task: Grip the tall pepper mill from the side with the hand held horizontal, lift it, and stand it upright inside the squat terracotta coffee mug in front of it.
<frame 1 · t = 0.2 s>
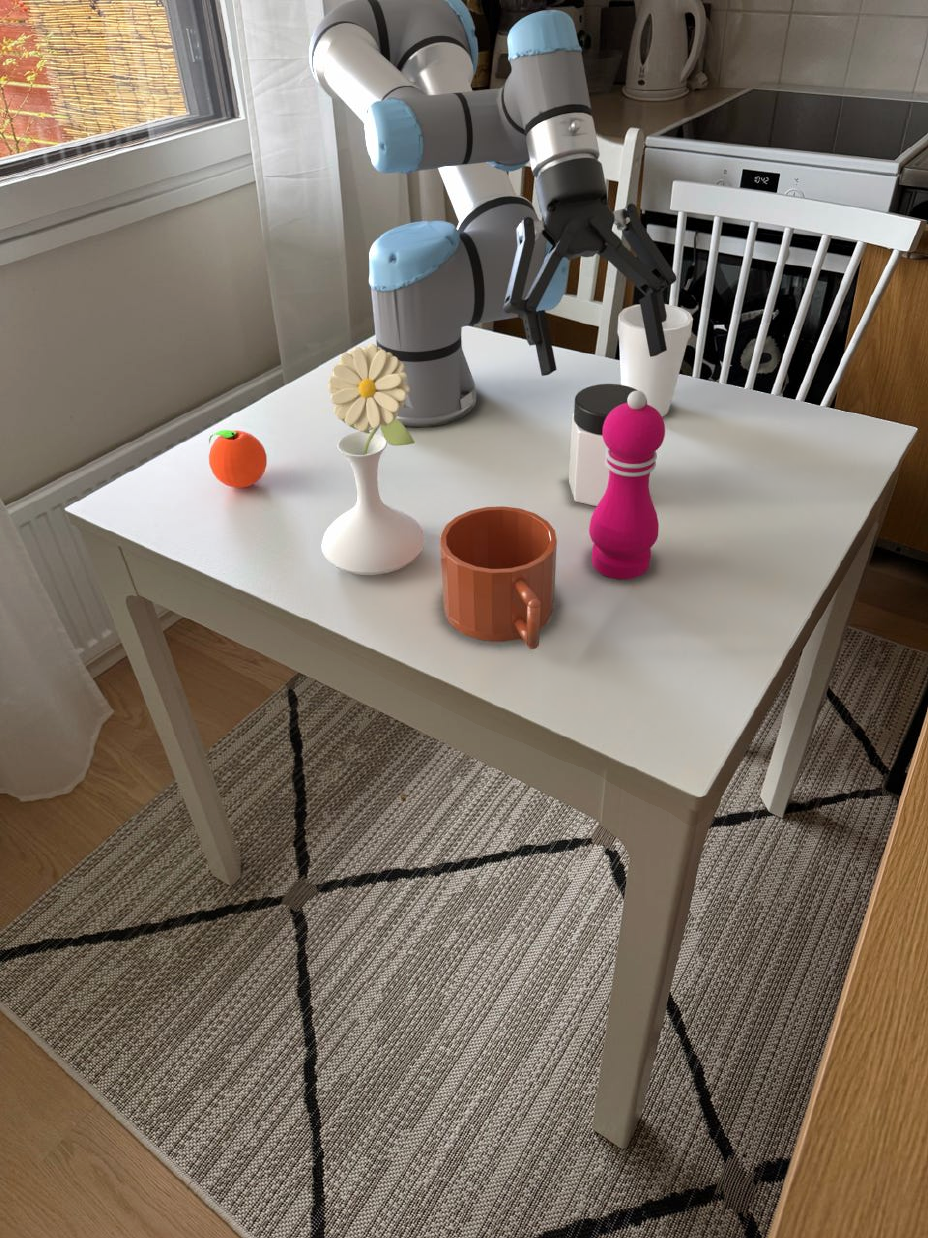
hand: (604, 363, 102), 15 cm above the table, tool tilted 35°, fingers open, 13 cm apart
flower in vase: (380, 558, 100), on the table
pepper mill: (620, 564, 98), on the table
foam cup: (645, 409, 126), on the table
terracotta coffee mug: (498, 606, 93), on the table
jar: (603, 491, 110), on the table
clementine: (240, 484, 114), on the table
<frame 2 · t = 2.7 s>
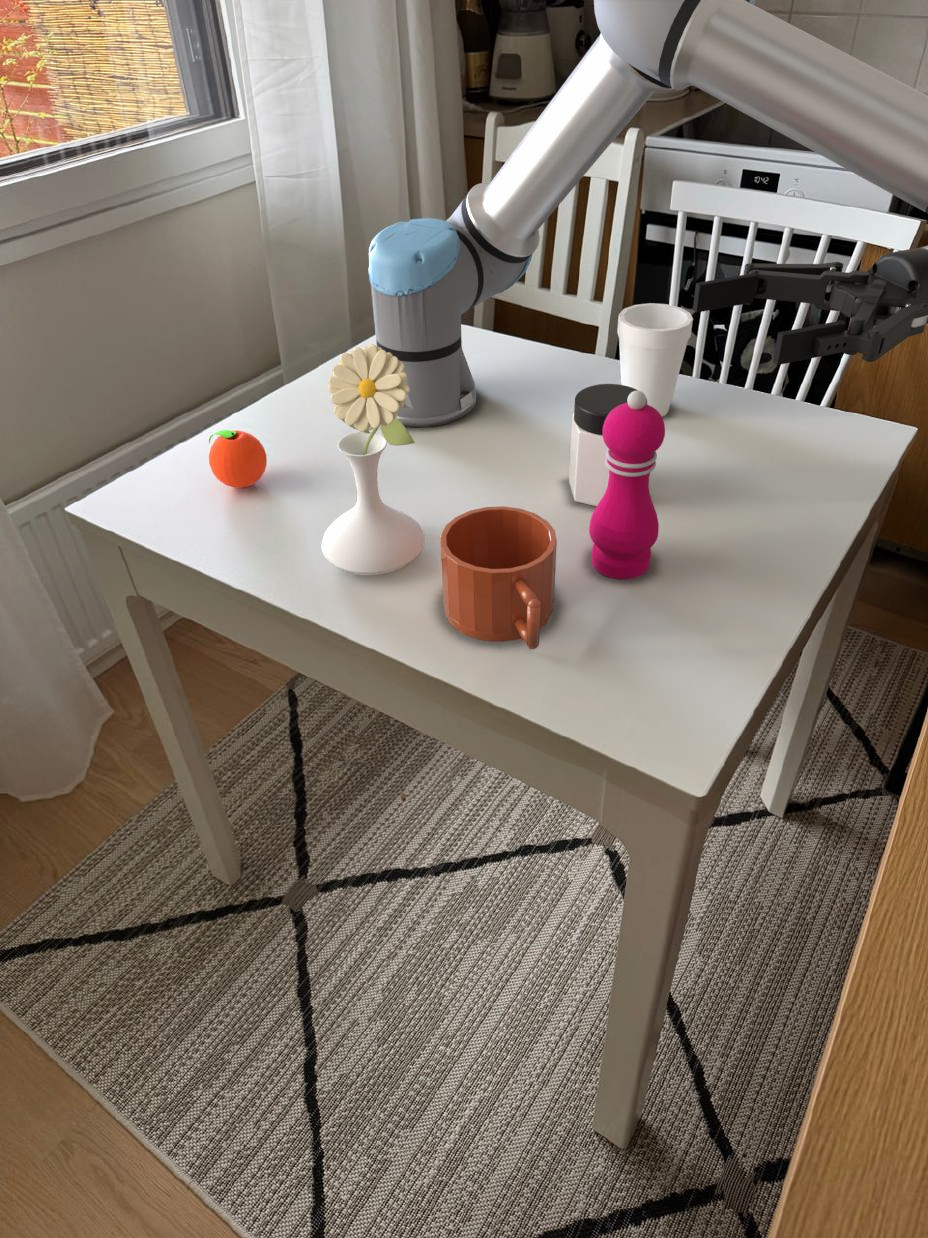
hand: (734, 321, 84), 25 cm above the table, tool horizontal, fingers open, 13 cm apart
nothing on the table moved.
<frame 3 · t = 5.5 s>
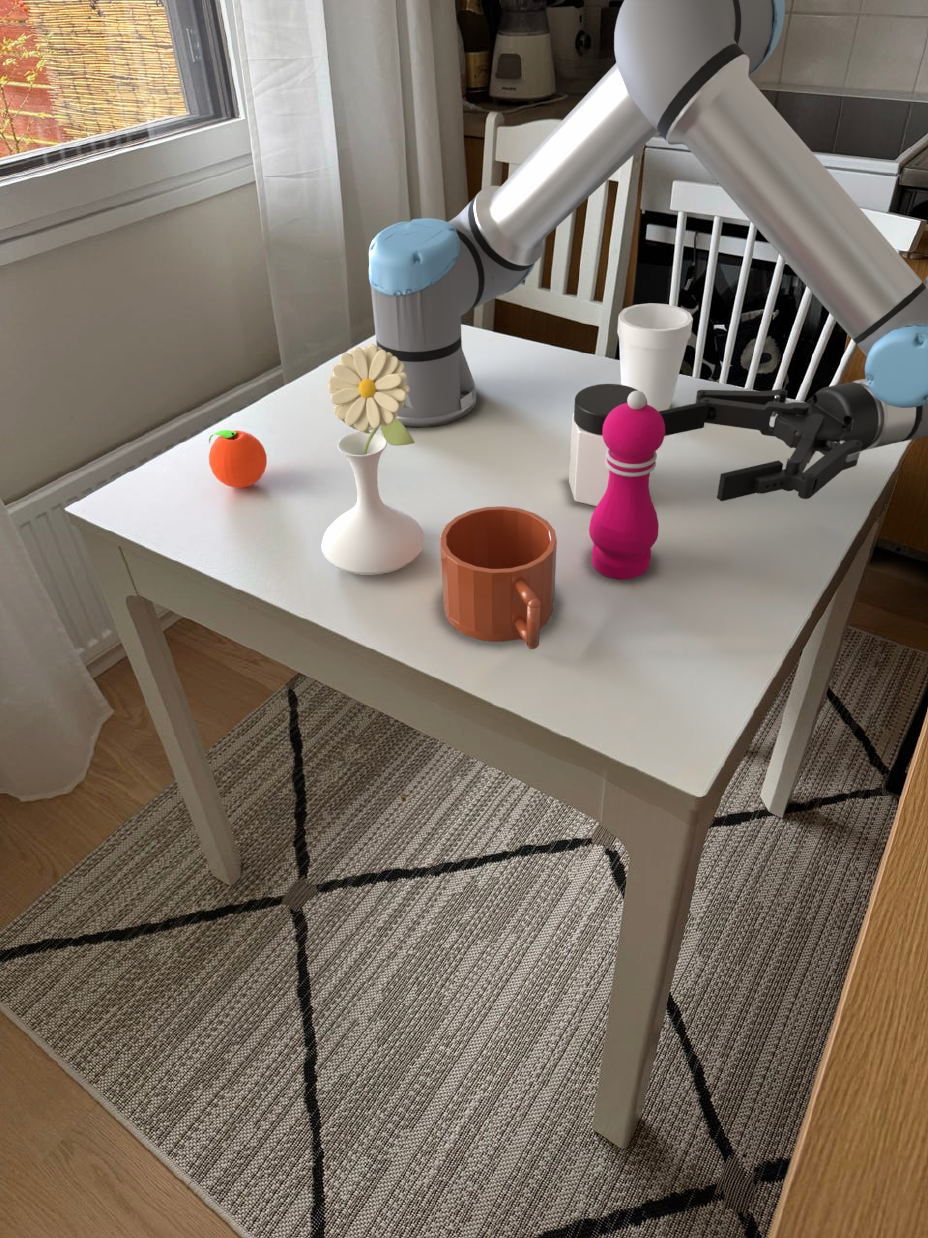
hand: (683, 455, 92), 12 cm above the table, tool horizontal, fingers open, 13 cm apart
nothing on the table moved.
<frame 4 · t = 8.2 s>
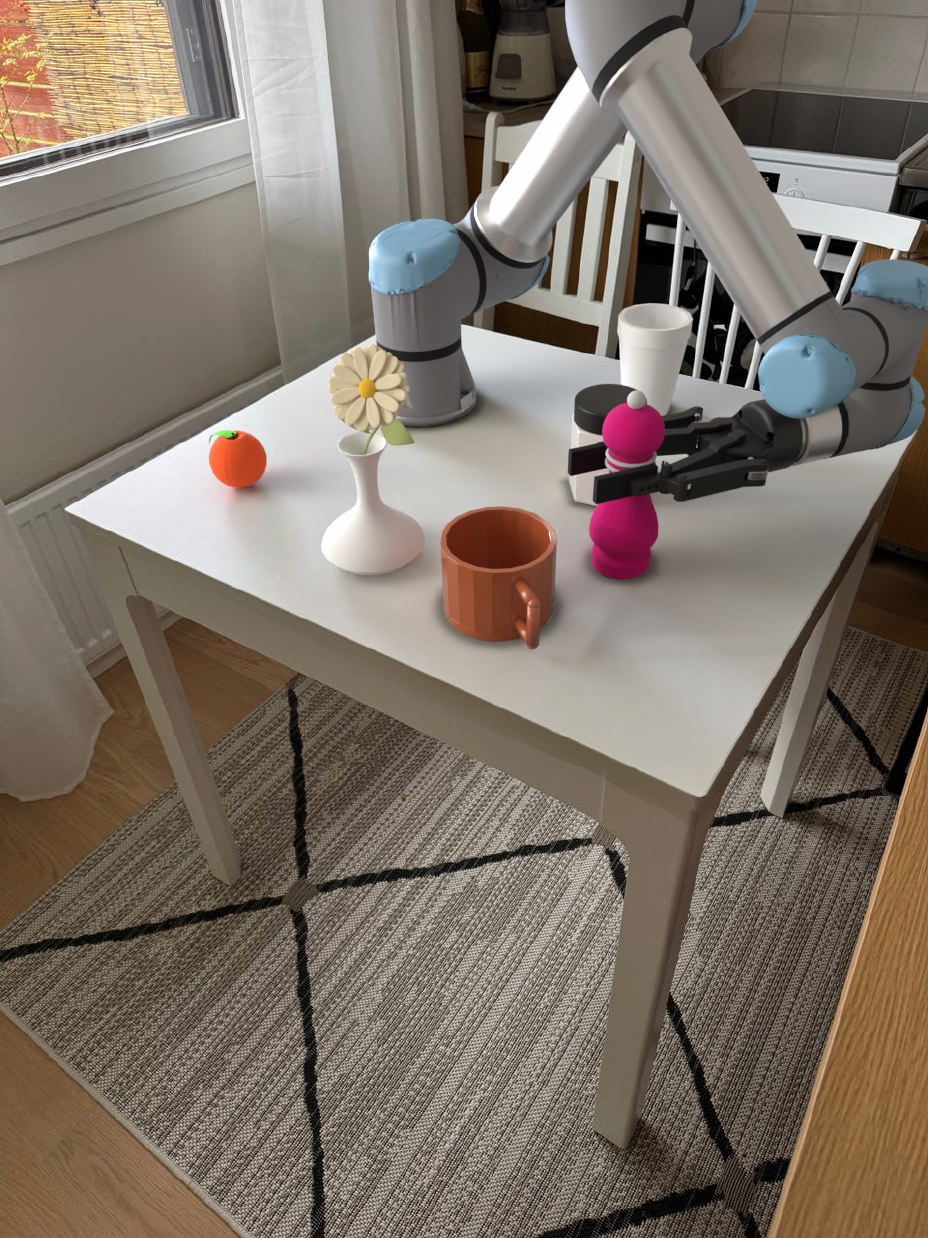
hand: (582, 476, 89), 12 cm above the table, tool horizontal, fingers closed on pepper mill, 5 cm apart
pepper mill: (620, 564, 98), on the table, touching gripper
everything else where it was.
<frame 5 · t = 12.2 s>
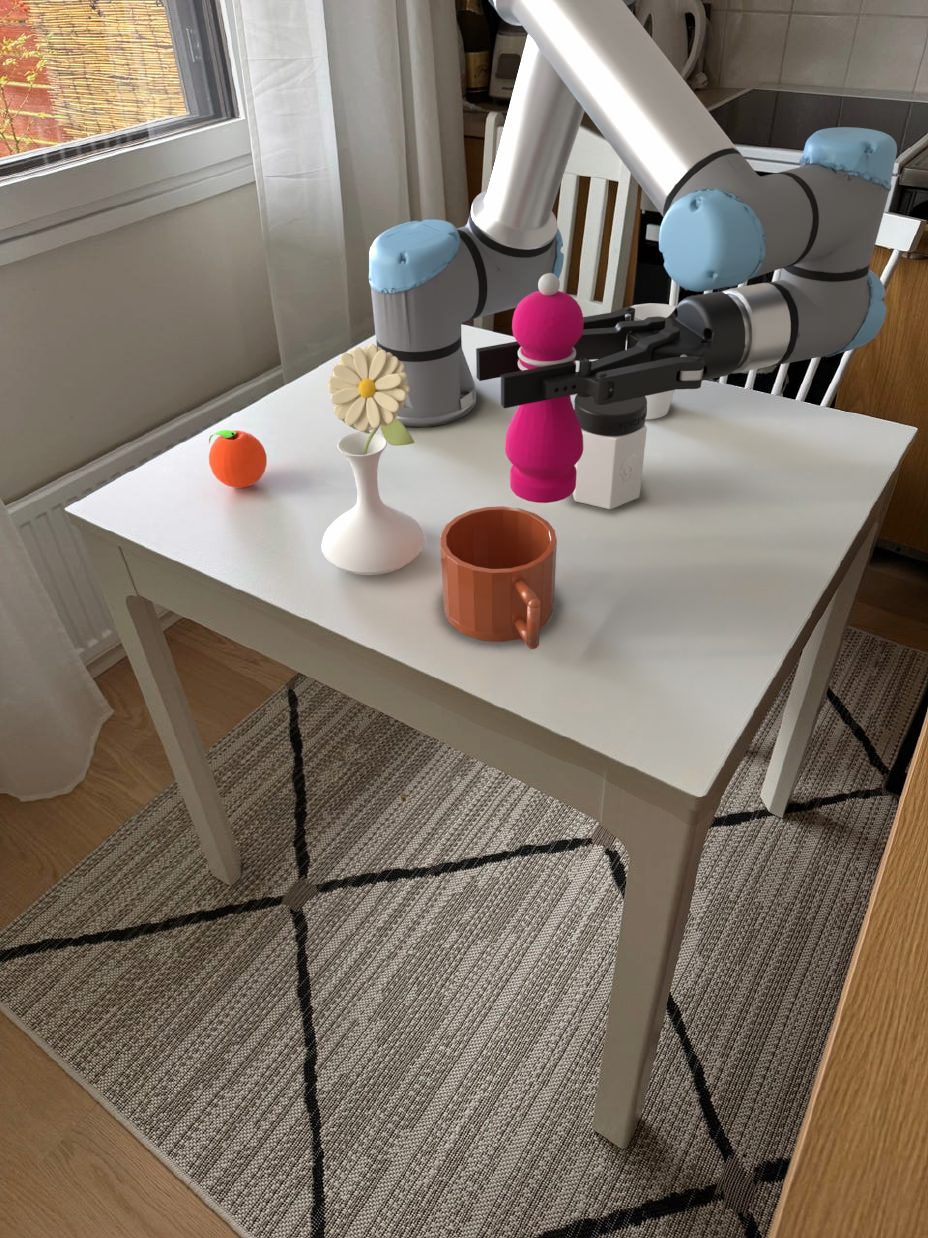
hand: (490, 377, 77), 25 cm above the table, tool horizontal, fingers closed on pepper mill, 5 cm apart
pepper mill: (542, 487, 86), point 13 cm above the table, touching gripper
everything else where it was.
when the fingers open (13 cm above the table, at t = 16.4 s): pepper mill stays where it is, resting on terracotta coffee mug.
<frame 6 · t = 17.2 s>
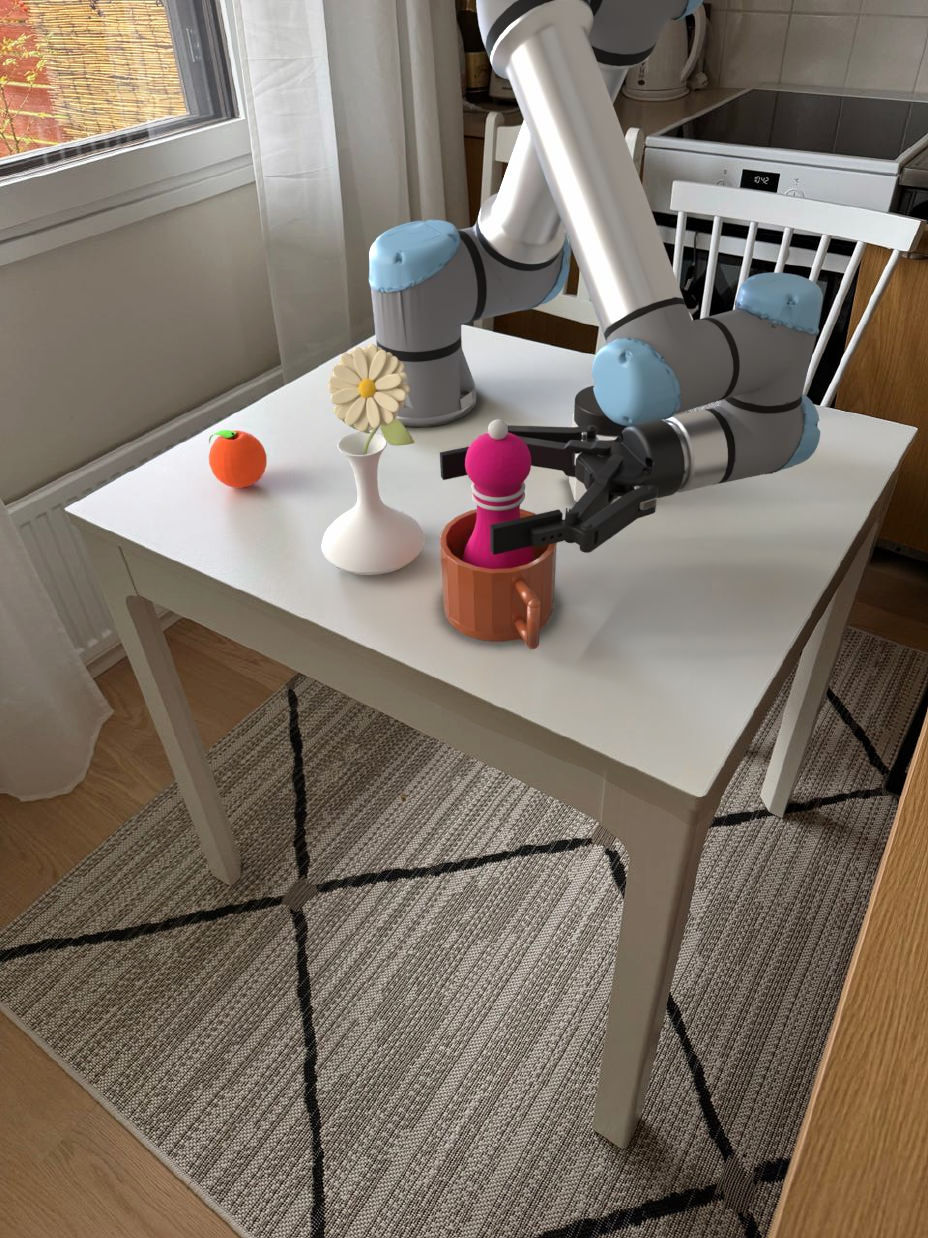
hand: (464, 501, 84), 13 cm above the table, tool horizontal, fingers open, 13 cm apart
pepper mill: (498, 600, 92), point 1 cm above the table, touching terracotta coffee mug
everything else where it was.
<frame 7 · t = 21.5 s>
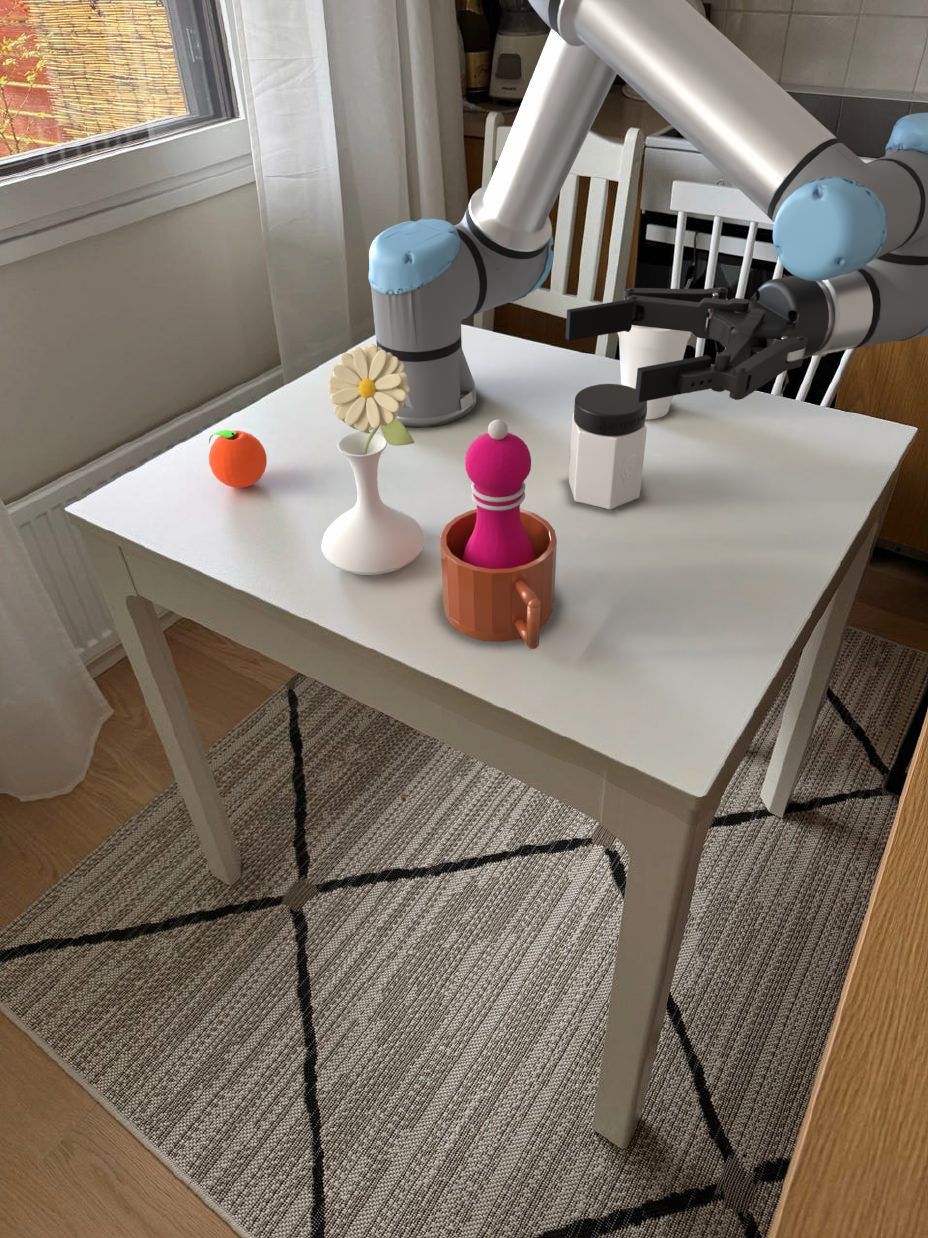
hand: (600, 353, 79), 25 cm above the table, tool horizontal, fingers open, 13 cm apart
nothing on the table moved.
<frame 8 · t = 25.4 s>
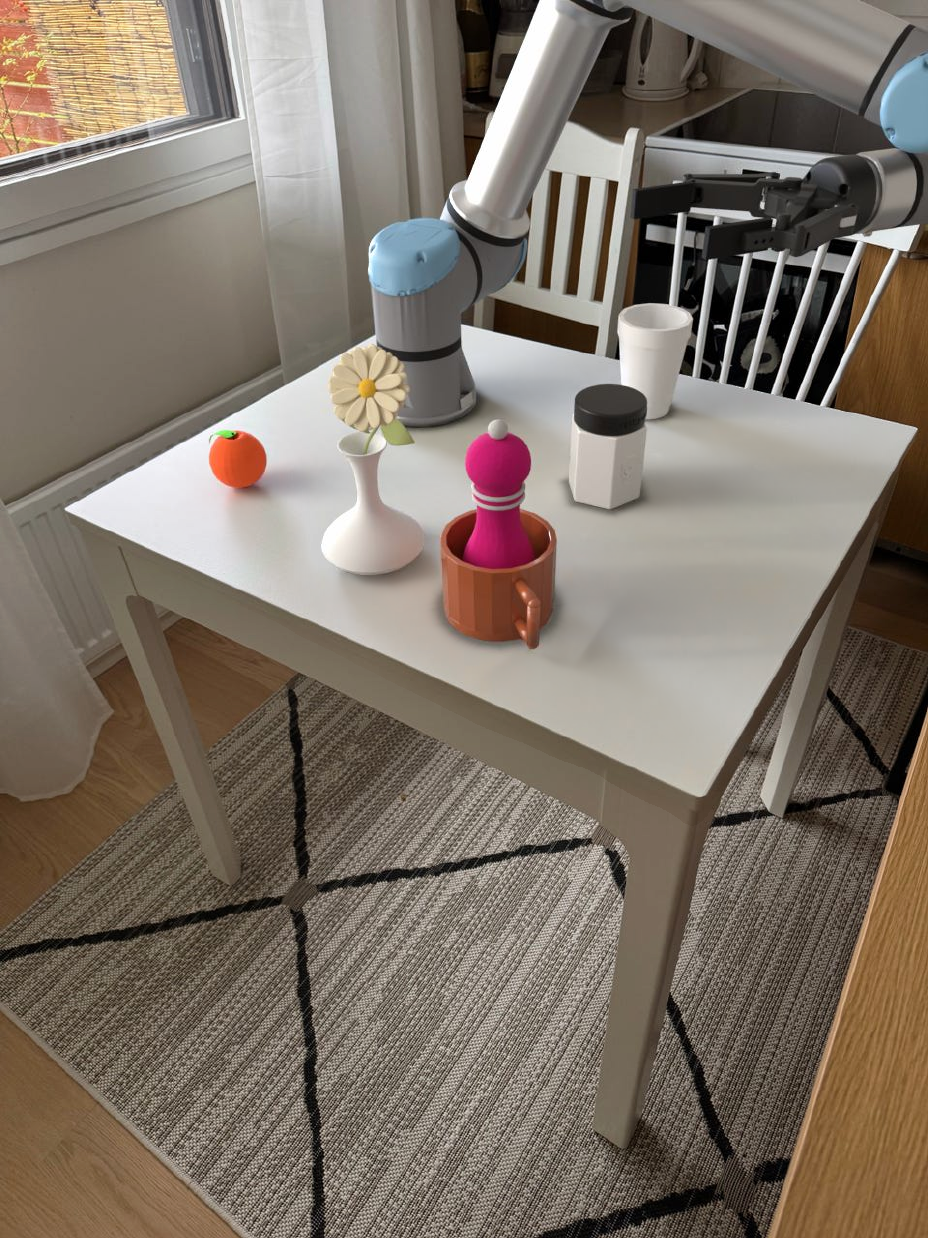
hand: (666, 222, 86), 32 cm above the table, tool horizontal, fingers open, 13 cm apart
nothing on the table moved.
at the end: pepper mill 0.1 cm off-centre in the terracotta coffee mug, point 0.8 cm above the terracotta coffee mug's base; pepper mill tilted 0°; the gripper is holding nothing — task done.
